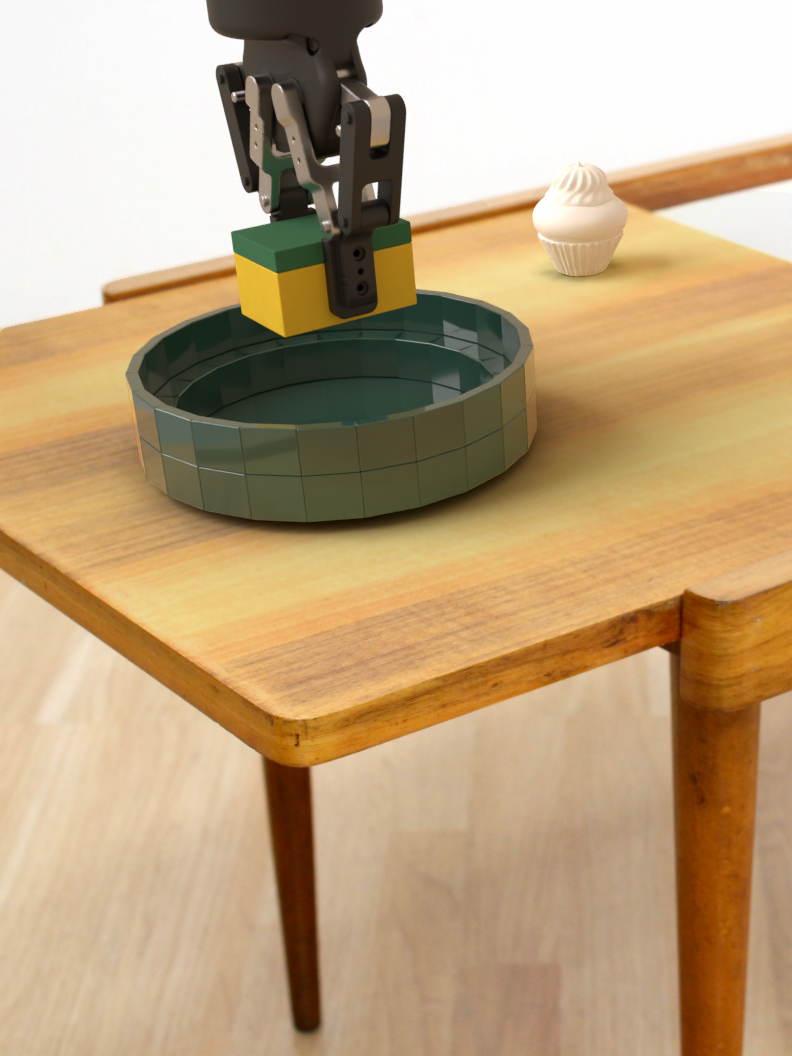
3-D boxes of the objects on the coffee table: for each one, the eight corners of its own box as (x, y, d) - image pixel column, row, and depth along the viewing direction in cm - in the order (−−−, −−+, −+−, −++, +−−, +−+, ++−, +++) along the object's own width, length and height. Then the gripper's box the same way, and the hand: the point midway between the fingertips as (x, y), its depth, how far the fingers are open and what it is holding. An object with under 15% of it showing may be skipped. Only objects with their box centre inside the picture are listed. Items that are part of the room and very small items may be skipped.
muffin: (517, 277, 99) (511, 168, 96) (560, 251, 104) (557, 146, 101) (604, 288, 97) (601, 176, 94) (644, 260, 102) (643, 153, 98)
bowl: (251, 576, 65) (235, 467, 62) (84, 437, 79) (66, 343, 76) (614, 454, 74) (613, 356, 72) (408, 349, 88) (400, 264, 86)
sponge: (284, 338, 70) (274, 251, 68) (241, 314, 73) (230, 231, 71) (417, 304, 73) (410, 221, 71) (370, 282, 77) (362, 202, 75)
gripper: (135, -89, 69) (191, 283, 76) (282, -70, 58) (330, 360, 66) (287, -104, 72) (326, 252, 80) (451, -89, 62) (477, 320, 70)
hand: (327, 299), depth 73 cm, fingers closed on sponge, 4 cm apart
